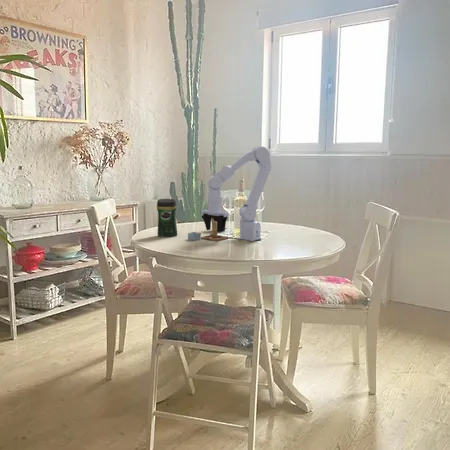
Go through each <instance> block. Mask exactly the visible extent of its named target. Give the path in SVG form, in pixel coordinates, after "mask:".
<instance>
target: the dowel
mask: <svg viewBox="0 0 450 450" xmlns="http://www.w3.org/2000/svg"><path fill="white" fill-rule="evenodd" d="M211 235H212V238H214V239H217V235H218V232H217V222H212V221H211Z"/></svg>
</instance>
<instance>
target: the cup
mask: <svg viewBox="0 0 450 450" xmlns="http://www.w3.org/2000/svg"><path fill="white" fill-rule="evenodd" d="M201 235H202V234H201V232H199V231H198V232H197V231H193V232H188V233H187V240H189V241H200V240H202V239H201V237H202V236H201Z"/></svg>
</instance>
